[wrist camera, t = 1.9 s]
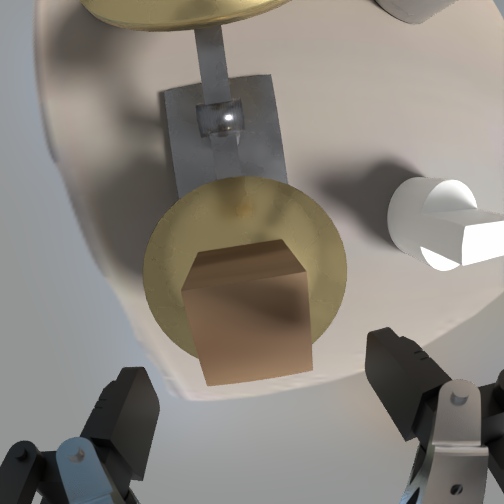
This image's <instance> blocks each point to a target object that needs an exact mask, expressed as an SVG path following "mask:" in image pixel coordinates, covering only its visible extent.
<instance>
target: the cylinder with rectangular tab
mask: <svg viewBox="0 0 504 504" xmlns="http://www.w3.org/2000/svg"><path fill="white" fill-rule="evenodd" d="M387 223H388V231H389V233H390V236H391V239H392V241H393V242H394V244H395V245H396V247H397V248H399V249H400V250H401V251H402V252H404V253H406V254H408V255H410V256H412V257H414V258H416V259H418V260H420V261H422V262H423V263H425V264H427V265H429V266H431V267H433V268H435V269H438V270H441V271H444V270H451V269H453V268H455V267H457V266H458V265H462V266H464V265H468V264H472V263H476V262H479V261H483V260H487V259H491V258H494V257H498V256H501V255H504V215H502V214H498V213H494V212H490V211H485V210H481V209H477V205H476V201H475V199H474V197H473V194H472V192H471V191H470V190H469V189H468V187H467V186H466V185H464V184H463V183H461V182H460V181H456V180H451V179H440V178H426V177H415V178H410V179H408V180H406V181H404V182H403V183H402V184H401V185H400V186H399V187H398V188H397V189H396V190H395V192H394V194H393V196H392V198H391V200H390V204H389V207H388V214H387Z"/></svg>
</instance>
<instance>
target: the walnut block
mask: <svg viewBox="0 0 504 504" xmlns="http://www.w3.org/2000/svg"><path fill="white" fill-rule="evenodd" d="M181 295H182V299H183V303H184V307H185V311H186V315H187V318H188V322H189V326H190V330H191V333H192V337H193V340H194V344H195V347H196V351H197V354H198V358H199V361H200V364H201V368H202V371H203V374H204V377H205V380H206V384H207V386H215V385H225V384H233V383H241V382H249V381H256V380H263V379H269V378H275V377H281V376H286V375H292V374H297V373H302V372H307V371H312V370H313V363H312V341H311V322H310V307H309V293H308V280H307V271H306V270H305V269H304V267H303V266H302V265H301V263H300V262H299V261H298V259H297V258H296V257H295V255H294V254H293V253H292V251H291V250H290V249H289V248H288V246H287V245H286V244H285V242H284V241H283V240H282V239H279V240H272V241H266V242H259V243H253V244H246V245H240V246H233V247H227V248H220V249H214V250H208V251H201V252H198V253H197V255H196V258H195V260H194V262H193V264H192V266H191V269H190V271H189V273H188V275H187V277H186V280H185V282H184V284H183V286H182V289H181Z"/></svg>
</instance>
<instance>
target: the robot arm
mask: <svg viewBox="0 0 504 504" xmlns="http://www.w3.org/2000/svg"><path fill="white" fill-rule="evenodd" d="M456 1H458V0H376V2H377V3H378V4H379V5H380V6H381V7H382V8H383V9H385V10H386V11H387V12H389V13H390V14H391V15H393V16H395V17H396V18H398V19H400V20H402V21H404V22H407V23H411V24H420V23H423V22H424V21H426V20H427V19H429V18H430V17H432V16H433V15H435V14H437V13H438V12H440V11H442V10H443V9H445V8H446V7H448V6H450V5H451V4H453V3H454V2H456ZM365 372H366V376H367V379H368V381H369V383H370V384H371V386H372V388H373V389H374V391H375V392H376V394H377V396H378V397H379V399H380V400H381V402H382V403H383V405H384V407H385V409H386V410H387V412H388V413H389V415H390V416H391V418H392V420H393V422H394V423H395V425H396V426H397V428H398V430H399V432H400V433H401V435H402V437H403V438H404V440H405V441H408V440H411V439H413V438H415V437H417V438H418V440H419V441H420V442H419V445H418V448H417V452H416V456H415V460H414V463H413V467H412V470H411V473H410V477H409V480H408V483H407V486H406V489H405V492H404V494H403V496H402V498H401V500H400V502H399V504H483V500H484V494H485V487H486V479H487V469H488V468H489V470H490V471H491V473H492V474H493V476H494V478H495V479H496V481H497V483H498V484H499V486H500V488H501V489H502V491H503V493H504V370H502V371H501V373H500V374H499V376H498V379H497V381H496V383H493V384H489V385H485V386H481V387H477V386H476V385H475V384H473V383H472V382H469V381H467V380H461V379H456V380H452V379H451V378H450V377H449V376H448V375H447V374H446V373H445V372H444V371H443V370H442V369H441V368H440V367H439V366H438V364H437V363H436V362H435V361H434V360H433V359H432V358H429V355H428V354H427V353H426V352H425V351H423V350H422V348H421V347H420V346H419V345H418V344H417V343H416V342H415V341H412V340H410V339H408V338H406V337H404V336H402V337H398V336H397V335H396V333H395V332H394V331H393V330H392V329H391V328H389V327H386V328H382V329H379V330H375V331H371V332H369V333H368V335H367V346H366V359H365ZM159 411H160V405H159V400H158V397H157V394H156V392H155V390H154V388H153V386H152V383H151V381H150V379H149V376H148V374H147V372H146V370H145V368H144V367H124V368H122V370H121V371H120V374H119V375H118V377H117V379H116V381H112V382H110V383H109V384H108V385H107V386H106V387H105V388H104V389H103V391H102V393H101V395H100V397H99V401H97V402H96V405H95V409H93V410H92V413H91V414H90V416H89V418H88V420H87V422H86V425H85V426H84V429H83V431H82V433H81V435H80V437H74V438H70V439H68V440H66V441H64V442H63V443H62V444H61V445H60V446H59V448H58V449H57V451H45V452H40V451H39V450H38V449H37V447H36V446H35V445H34V444H33V443H32V442H30V441H20V442H17V443H15V444H14V445H13V446H12V447H11V448H10V449H9V451H8V453H7V455H6V457H5V459H4V461H3V463H2V465H1V466H0V504H31V503H32V500H33V497H34V495H35V492H36V491H37V492H38V493H39V494H40V495H41V496H43V497H42V500H41V503H40V504H140V502H139V501H138V499H137V498H136V496H135V495H134V493H133V491H132V490H131V488H130V487H129V485H130V480H138V481H143V478H144V473H145V469H146V465H147V461H148V456H149V452H150V448H151V444H152V440H153V436H154V431H155V427H156V424H157V420H158V416H159Z"/></svg>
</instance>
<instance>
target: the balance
mask: <svg viewBox="0 0 504 504" xmlns="http://www.w3.org/2000/svg"><path fill="white" fill-rule="evenodd" d="M289 1H291V0H80V2H81V3H82V4H83V6H84V7H85V8H86V9H87V10H88V11H89V12H90V13H91V14H93V15H94V16H95V17H96V18H97V19H99V20H101V21H103V22H105V23H107V24H110V25H113V26H116V27H119V28H124V29H129V30H136V31H149V32H169V31H182V30H192V29H194V32H195V39H196V46H197V53H198V60H199V67H200V74H201V81H202V83H200V84H194V85H189V86H184V87H180V88H175V89H170V90H166V91H164V95H165V105H166V114H167V122H168V130H169V138H170V145H171V152H172V159H173V166H174V173H175V179H176V185H177V191H178V197H179V200H178V201H177V202H176V203H175V204H174V205H173V206H172V207H171V208H170V209H169V210H168V211H167V212H166V213H165V214H164V215H163V217H162V218H161V219H160V221H159V222H158V224H157V225H156V227H155V229H154V231H153V233H152V235H151V237H150V240H149V242H148V245H147V248H146V252H145V257H144V263H143V284H144V290H145V295H146V299H147V302H148V305H149V308H150V310H151V312H152V314H153V316H154V318H155V320H156V322H157V323H158V325H159V326H160V327H161V329H162V330H163V332H164V333H165V334H166V335H167V336H168V337H169V338H170V339H171V340H172V341H173V342H174V343H175V344H176V345H178V346H179V347H180V348H181V349H183V350H184V351H186V352H187V353H189V354H190V355H192V356H194V357H196V358H198V354H197V351H196V347H195V344H194V340H193V337H192V333H191V330H190V326H189V322H188V318H187V315H186V311H185V307H184V303H183V299H182V295H181V289H182V286H183V284H184V282H185V280H186V277H187V275H188V273H189V271H190V269H191V266H192V264H193V262H194V260H195V258H196V255H197V253H198V252H201V251H208V250H214V249H220V248H227V247H233V246H240V245H246V244H253V243H259V242H266V241H272V240H279V239H282V240H283V241H284V242H285V244H286V245H287V246H288V248H289V249H290V250H291V251H292V253H293V254H294V255H295V257H296V258H297V259H298V261H299V262H300V263H301V265H302V266H303V267H304V269H305V270H306V271H307V280H308V293H309V307H310V322H311V341H312V344H313V343H314V342H315V341H316V340H317V339H318V338H319V337H320V336H321V335H322V334H323V333H324V332H325V330H326V329H327V328H328V327H329V325H330V324H331V322H332V321H333V319H334V317H335V316H336V314H337V312H338V310H339V307H340V305H341V302H342V299H343V296H344V293H345V287H346V281H347V263H346V254H345V250H344V246H343V243H342V240H341V238H340V235H339V233H338V231H337V229H336V227H335V225H334V224H333V222H332V220H331V219H330V218H329V216H328V215H327V214H326V212H325V211H324V210H323V209H322V208H321V207H320V206H319V205H318V204H317V203H316V202H315V201H314V200H313V199H311V198H310V197H309V196H307V195H306V194H304V193H303V192H301V191H300V190H298V189H296V188H294V187H292V186H290V185H288V181H287V173H286V166H285V159H284V152H283V145H282V138H281V132H280V125H279V119H278V113H277V107H276V101H275V95H274V89H273V83H272V78H271V75H259V76H248V77H240V78H232V79H228V73H227V66H226V58H225V51H224V44H223V37H222V30H221V25H223V24H228V23H232V22H236V21H240V20H244V19H247V18H250V17H253V16H256V15H260V14H263V13H265V12H268V11H270V10H273V9H275V8H278V7H280V6H281V5H283V4H285V3H287V2H289ZM198 359H199V358H198Z"/></svg>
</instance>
